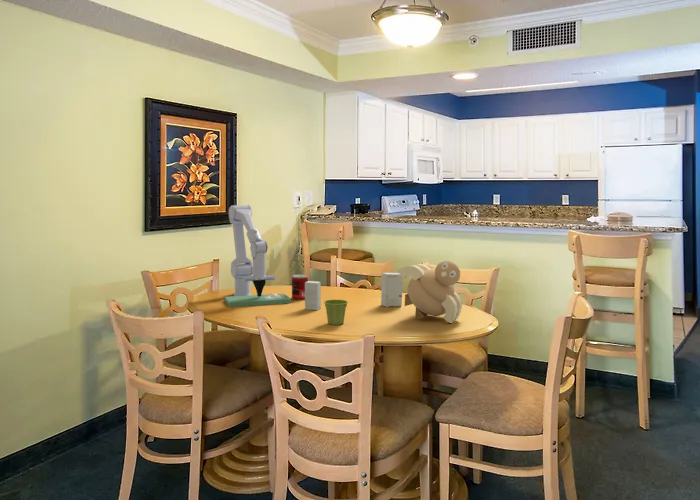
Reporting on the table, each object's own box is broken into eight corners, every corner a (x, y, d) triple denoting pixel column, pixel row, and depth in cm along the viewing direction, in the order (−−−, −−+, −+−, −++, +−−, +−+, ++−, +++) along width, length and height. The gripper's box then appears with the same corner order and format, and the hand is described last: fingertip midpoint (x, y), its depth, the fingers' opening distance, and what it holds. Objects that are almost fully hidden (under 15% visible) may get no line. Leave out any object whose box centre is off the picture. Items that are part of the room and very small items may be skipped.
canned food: (309, 296, 269) (309, 274, 268) (306, 300, 261) (306, 277, 260) (293, 296, 270) (293, 274, 269) (290, 299, 262) (290, 276, 261)
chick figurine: (420, 239, 214) (443, 235, 233) (377, 288, 226) (403, 280, 245) (475, 296, 204) (494, 287, 223) (426, 344, 216) (449, 332, 235)
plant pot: (323, 320, 221) (323, 299, 220) (346, 320, 221) (347, 299, 220) (324, 326, 211) (324, 304, 210) (348, 326, 212) (348, 303, 211)
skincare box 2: (385, 307, 247) (385, 274, 245) (380, 304, 252) (381, 272, 251) (402, 306, 249) (403, 273, 248) (397, 303, 255) (398, 271, 253)
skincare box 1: (321, 308, 243) (321, 281, 242) (317, 310, 239) (317, 283, 238) (308, 307, 245) (308, 280, 244) (304, 309, 241) (304, 282, 240)
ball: (274, 291, 260) (280, 295, 259) (270, 297, 261) (276, 301, 260) (271, 292, 257) (277, 297, 256) (267, 298, 257) (273, 303, 257)
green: (224, 301, 257) (224, 296, 257) (283, 297, 267) (283, 293, 267) (229, 307, 244) (229, 302, 244) (290, 303, 254) (290, 298, 254)
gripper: (244, 269, 248) (245, 298, 249) (276, 267, 253) (276, 296, 254) (242, 266, 254) (242, 295, 256) (273, 265, 260) (273, 294, 261)
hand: (259, 296), depth 256 cm, fingers closed
